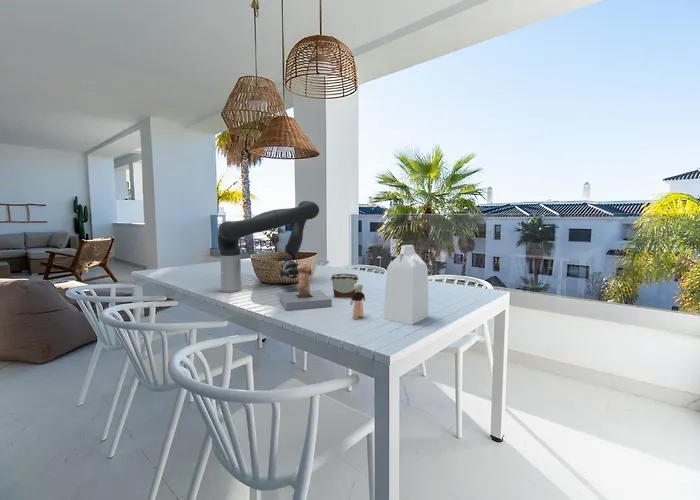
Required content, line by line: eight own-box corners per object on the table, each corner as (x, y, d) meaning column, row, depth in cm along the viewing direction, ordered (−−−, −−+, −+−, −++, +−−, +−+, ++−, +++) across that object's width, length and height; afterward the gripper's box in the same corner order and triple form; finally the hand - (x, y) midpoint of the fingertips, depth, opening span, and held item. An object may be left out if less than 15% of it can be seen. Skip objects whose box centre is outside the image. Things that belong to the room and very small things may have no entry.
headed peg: (299, 305, 143) (298, 267, 141) (296, 302, 148) (295, 265, 146) (312, 304, 145) (312, 266, 143) (309, 301, 150) (309, 264, 148)
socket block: (286, 310, 135) (286, 302, 134) (279, 299, 152) (279, 293, 151) (331, 306, 141) (331, 299, 141) (319, 296, 158) (319, 290, 157)
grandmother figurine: (357, 320, 122) (357, 284, 121) (348, 318, 124) (348, 283, 123) (368, 315, 129) (368, 281, 128) (359, 313, 131) (359, 280, 130)
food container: (359, 295, 161) (359, 273, 160) (358, 298, 155) (358, 276, 154) (332, 294, 162) (332, 273, 161) (330, 297, 156) (330, 275, 155)
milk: (401, 311, 135) (402, 243, 132) (428, 316, 127) (430, 245, 125) (383, 318, 125) (384, 245, 123) (411, 324, 118) (413, 247, 116)
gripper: (276, 262, 169) (282, 267, 154) (306, 261, 174) (313, 265, 159) (277, 277, 170) (282, 284, 154) (306, 276, 174) (314, 282, 159)
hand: (298, 274), depth 157 cm, fingers open, 8 cm apart
